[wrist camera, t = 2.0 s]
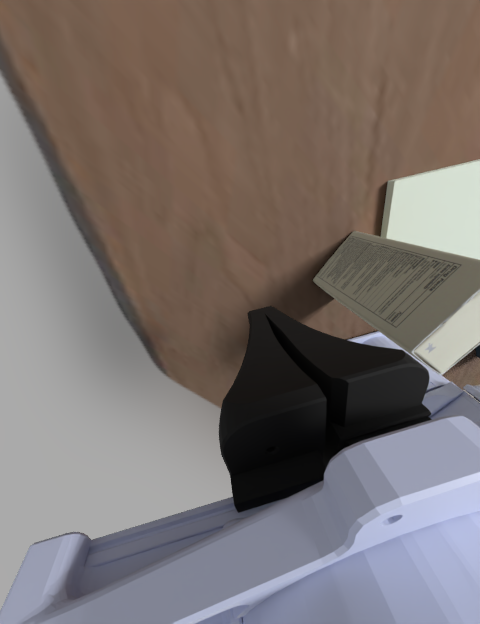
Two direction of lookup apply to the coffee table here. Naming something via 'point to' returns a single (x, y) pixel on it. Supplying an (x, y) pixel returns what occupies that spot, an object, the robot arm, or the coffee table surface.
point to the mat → (436, 209)
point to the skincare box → (409, 295)
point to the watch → (478, 351)
